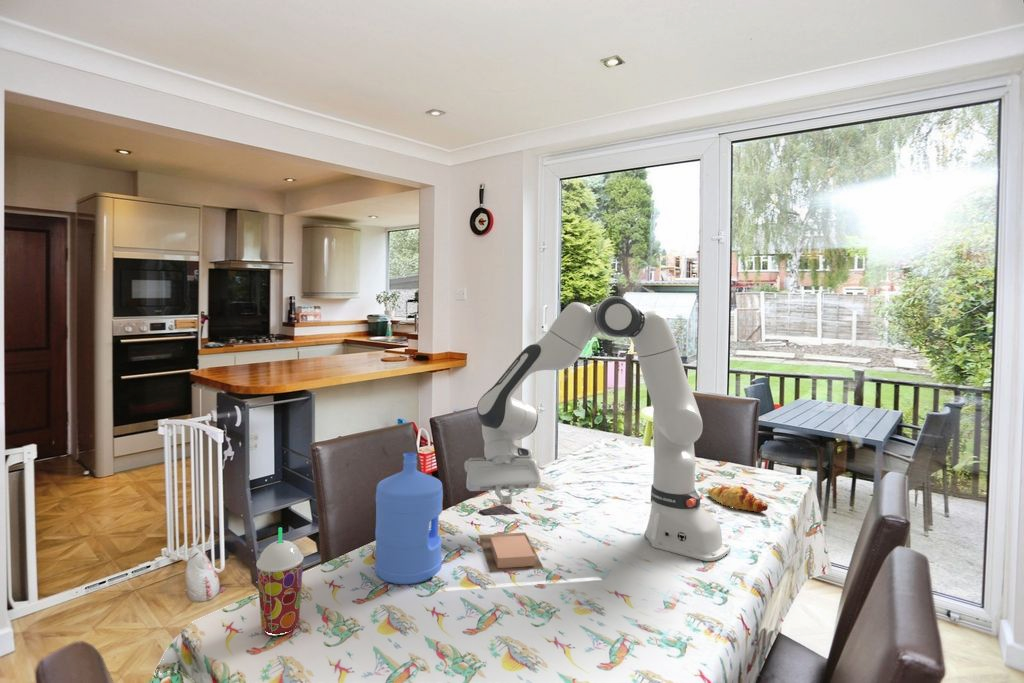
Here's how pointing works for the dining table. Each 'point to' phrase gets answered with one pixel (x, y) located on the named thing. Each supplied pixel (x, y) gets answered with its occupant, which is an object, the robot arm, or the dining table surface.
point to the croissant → (737, 498)
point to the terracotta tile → (512, 551)
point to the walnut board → (490, 558)
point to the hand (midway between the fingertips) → (506, 503)
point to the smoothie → (280, 585)
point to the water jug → (408, 525)
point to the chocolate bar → (497, 511)
